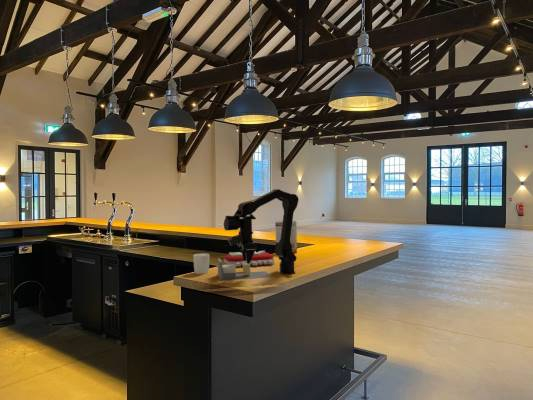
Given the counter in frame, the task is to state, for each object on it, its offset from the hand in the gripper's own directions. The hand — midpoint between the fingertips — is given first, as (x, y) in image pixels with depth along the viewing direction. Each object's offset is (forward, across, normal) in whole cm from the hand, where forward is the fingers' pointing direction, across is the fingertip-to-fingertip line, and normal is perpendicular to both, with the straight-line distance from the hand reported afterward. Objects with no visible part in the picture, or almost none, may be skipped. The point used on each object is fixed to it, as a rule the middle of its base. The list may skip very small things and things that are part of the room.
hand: (246, 262), depth 189 cm
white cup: (+8, -14, -20) cm, 26 cm away
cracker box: (+8, -70, +40) cm, 81 cm away
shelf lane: (+8, 0, -1) cm, 8 cm away
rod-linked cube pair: (+6, 0, -5) cm, 8 cm away
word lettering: (+8, -34, +8) cm, 36 cm away
